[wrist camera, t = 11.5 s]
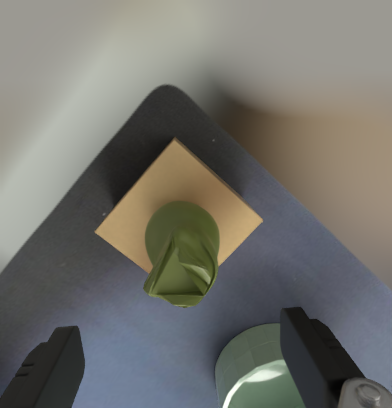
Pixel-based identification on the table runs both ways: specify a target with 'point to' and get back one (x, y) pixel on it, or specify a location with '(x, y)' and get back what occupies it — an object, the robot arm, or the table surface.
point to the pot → (255, 372)
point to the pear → (181, 253)
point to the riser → (177, 191)
